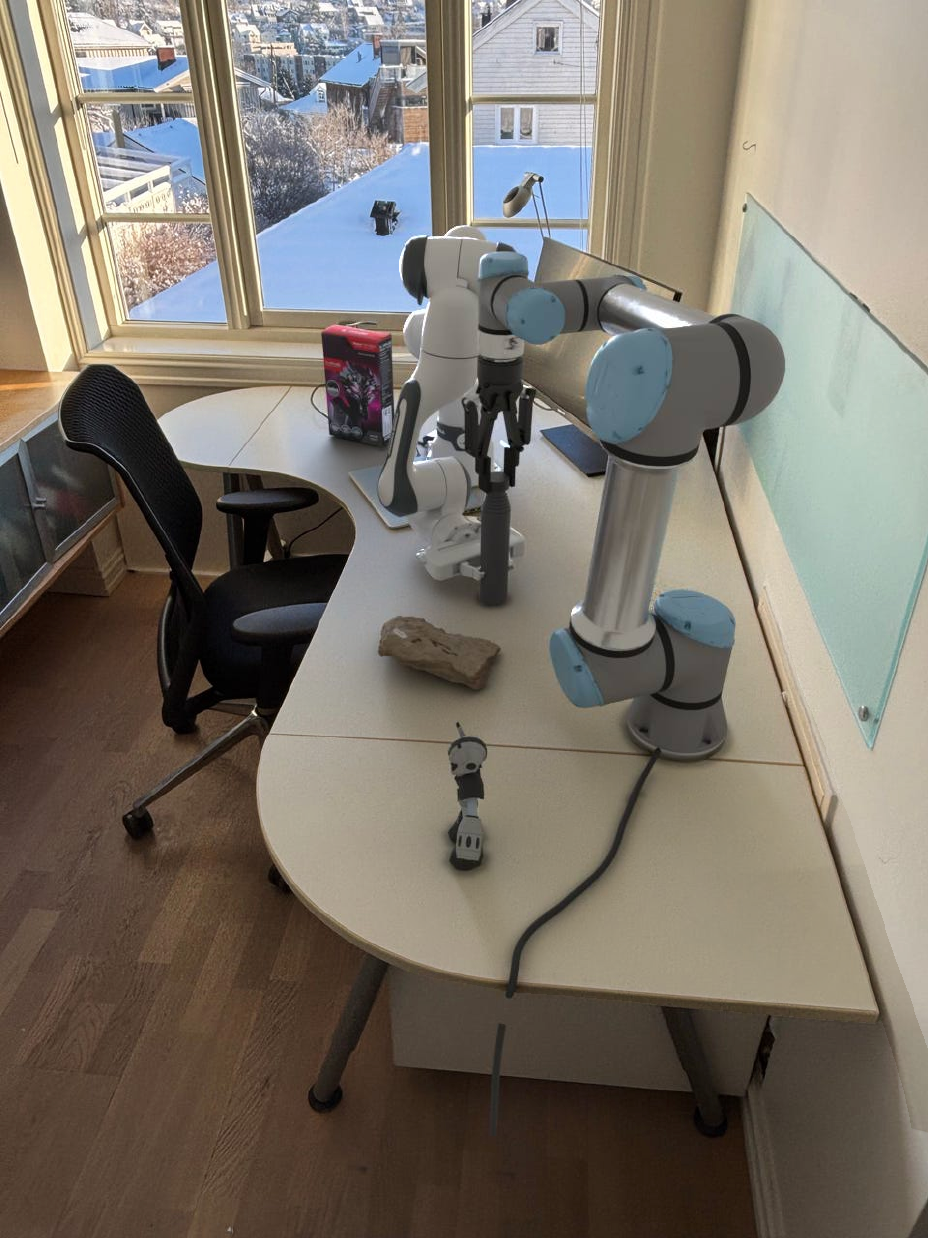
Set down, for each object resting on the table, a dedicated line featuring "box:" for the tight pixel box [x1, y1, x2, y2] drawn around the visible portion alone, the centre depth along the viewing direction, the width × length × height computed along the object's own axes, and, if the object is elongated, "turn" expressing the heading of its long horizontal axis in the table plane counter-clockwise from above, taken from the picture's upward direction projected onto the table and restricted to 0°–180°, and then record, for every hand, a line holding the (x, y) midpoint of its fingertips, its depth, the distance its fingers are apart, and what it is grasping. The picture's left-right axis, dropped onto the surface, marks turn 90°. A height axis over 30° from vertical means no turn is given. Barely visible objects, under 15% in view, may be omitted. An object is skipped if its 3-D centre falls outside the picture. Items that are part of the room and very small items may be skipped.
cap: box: [490, 471, 511, 492], centre depth 161 cm, size 4×4×2 cm
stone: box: [377, 615, 502, 691], centre depth 155 cm, size 21×15×6 cm
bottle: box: [479, 491, 512, 608], centre depth 167 cm, size 5×5×25 cm
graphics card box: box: [320, 324, 395, 448], centre depth 230 cm, size 17×7×27 cm, turn 62°
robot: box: [447, 721, 488, 871], centre depth 117 cm, size 20×5×20 cm, turn 3°
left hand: (497, 571), depth 170 cm, fingers closed on bottle, 5 cm apart
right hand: (496, 486), depth 161 cm, fingers closed on cap, 4 cm apart
